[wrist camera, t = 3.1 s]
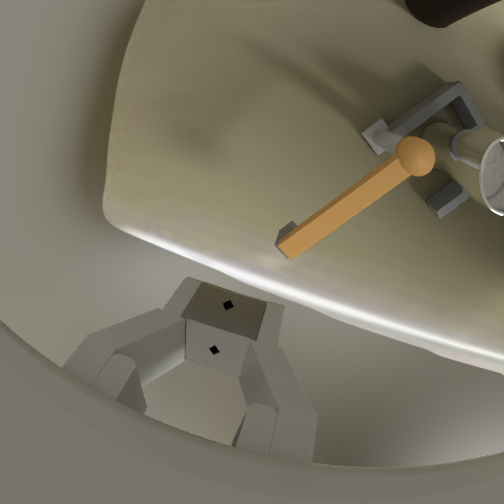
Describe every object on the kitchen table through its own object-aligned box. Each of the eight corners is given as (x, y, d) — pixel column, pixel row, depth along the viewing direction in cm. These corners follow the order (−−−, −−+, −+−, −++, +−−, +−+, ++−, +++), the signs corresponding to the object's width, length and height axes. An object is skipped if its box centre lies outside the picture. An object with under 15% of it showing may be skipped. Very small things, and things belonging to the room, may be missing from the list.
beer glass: (442, 107, 24) (513, 117, 11) (471, 151, 25) (541, 187, 12) (406, 140, 27) (463, 167, 15) (437, 182, 29) (496, 234, 16)
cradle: (489, 161, 25) (544, 191, 14) (417, 216, 32) (452, 266, 21) (440, 74, 22) (493, 65, 11) (360, 133, 29) (383, 147, 18)
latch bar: (406, 126, 18) (421, 130, 15) (423, 153, 19) (441, 163, 16) (275, 225, 26) (267, 245, 22) (294, 247, 26) (290, 269, 23)
